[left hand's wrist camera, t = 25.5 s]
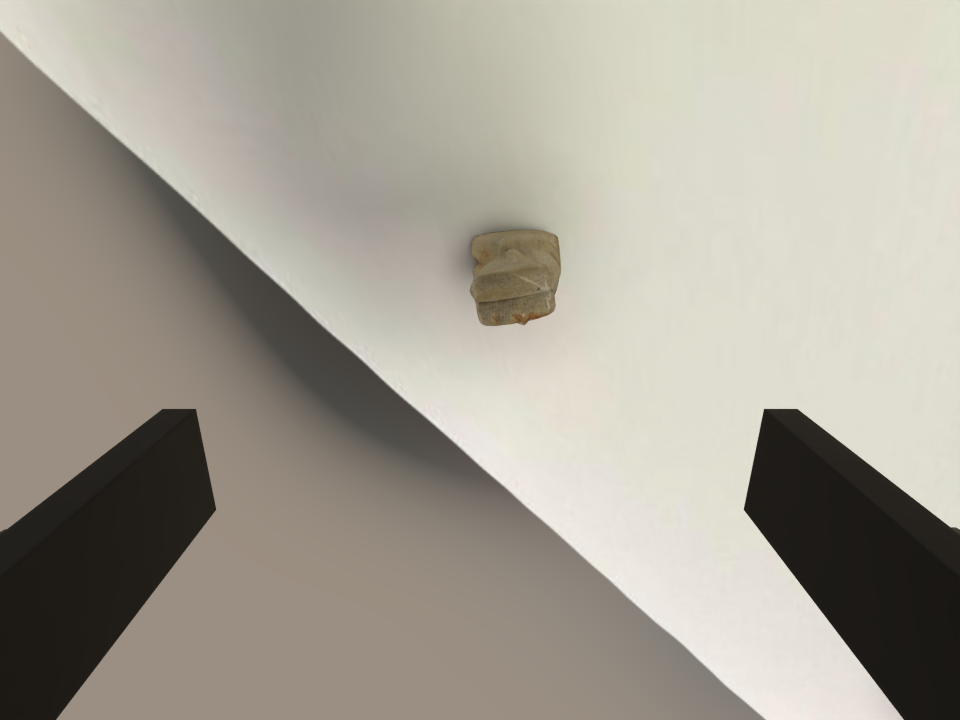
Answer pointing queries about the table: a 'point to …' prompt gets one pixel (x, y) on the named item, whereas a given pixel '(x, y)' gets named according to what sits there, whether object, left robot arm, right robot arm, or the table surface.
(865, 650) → the left robot arm
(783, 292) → the table surface
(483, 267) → the sculpture
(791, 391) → the table surface
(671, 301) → the table surface
